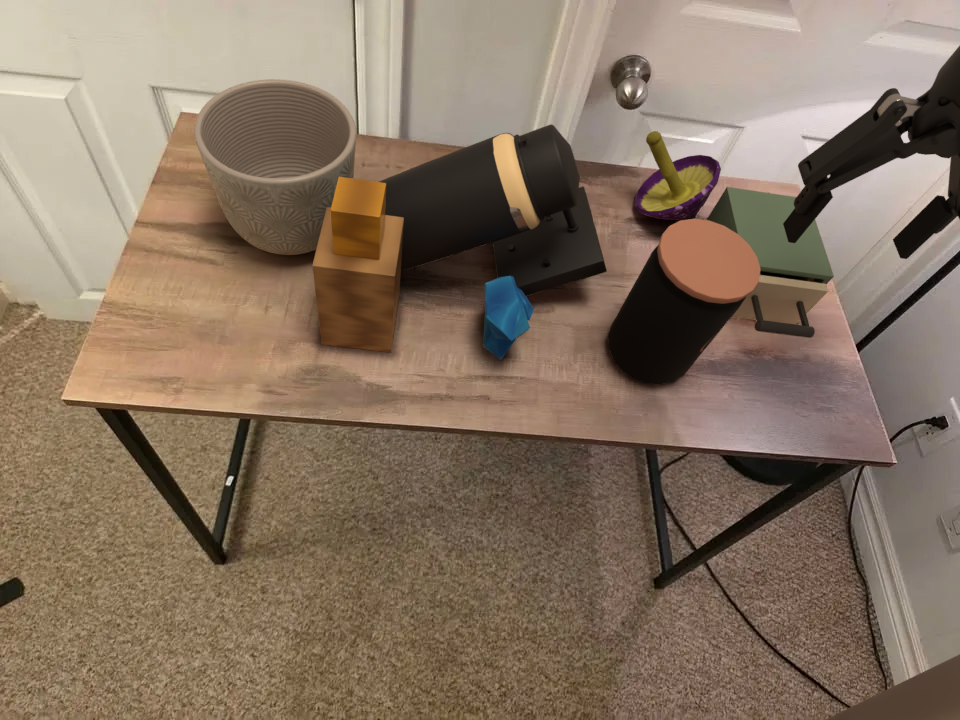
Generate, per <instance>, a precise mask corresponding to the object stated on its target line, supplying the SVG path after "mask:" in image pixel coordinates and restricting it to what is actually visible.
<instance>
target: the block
mask: <svg viewBox="0 0 960 720" xmlns="http://www.w3.org/2000/svg"><path fill="white" fill-rule="evenodd" d="M330 211H331V224H332V238H333V251H334V254H337V255H345V256H353V257H360V258H368V259H376V260H379V259H380V254H381V248H382V242H383V236H384V231H385V211H386V183H381V182H379V181H373V180H366V179H359V178H354V179H353V178H346V177H338V181H337V185H336V189H335V193H334V198H333V202H332V206H331V210H330Z"/></svg>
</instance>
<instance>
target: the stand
mask: <svg viewBox="0 0 960 720" xmlns="http://www.w3.org/2000/svg"><path fill="white" fill-rule="evenodd" d="M330 210H331V207H327V208H326V212H325V216H324V220H323V224H322V228H321V232H320V237H319V241H318V245H317V249H316V250H315V254H314V258H313V261H312V273H313V283H314V290H315V299H316V308H317V316H318V317H317V318H318V324H319V333H320V341H321V345H323V346H331V347H339V348H347V349H348V348H350V349H358V350H366V351H373V352H374V351H375V352H383V353H384V352H385V353H392V351H393V344H394V343H393V342H394V336H395V330H396V321H397V316H398V309H399V302H400V291H401V289H400V288H401V272H402V271H401V259H402V242H403V226H404V218H403V217H396V216H389V215H385V231H384V236H383V242H382V248H381V254H380V259H379V260H376V259H368V258H360V257H353V256H345V255H337V254H334V251H333V238H332V224H331V211H330Z"/></svg>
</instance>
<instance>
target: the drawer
mask: <svg viewBox="0 0 960 720" xmlns="http://www.w3.org/2000/svg"><path fill="white" fill-rule="evenodd" d="M814 279H815V278H808V277H801V276H794V275H786V274H779V273H772V272H764V271H760V278H759V282H758V284H757V285H756V287H755V288H754V290H753V291H752V292H751V293H750V294H749V295H748V296H746V298H745V300H744V301H743V303H742V304H741V306H740V307H739V308H738V310H737V311H736V312H735V313H734V315H733V316H732V317H731V318H737V319H744V320H751V321H752V320H753V321H755V322H754V330H755V331H756V332H760V333H768V334H777V335H783V336H784V335H785V336H791V337H792V336H793V337H800V338H806V339H807V338H808V339H812V338H813V337H815V336H814V335H815V333H816V330H815V327H814V326H811V325H810V321H809V319H808V313H809V312H810V311H811V310H812V309H813V308H814V307H815V306H816V305H817V304H818V303H819V302H820V301H821V300H822V299H823V298H824V297H825V296H826V295H827V294H828V293H829V288H828V286H827V284H823V283H816V282H812V281H813V280H814ZM799 322H800V323H801V324H798V323H799Z"/></svg>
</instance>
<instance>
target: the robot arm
mask: <svg viewBox="0 0 960 720" xmlns="http://www.w3.org/2000/svg"><path fill="white" fill-rule="evenodd" d="M905 133H907V139H908V140H909V141H908V142H904V140H903V138H902V135H903V134H905ZM915 154H919V155H925V156H927V155H936V156H938V157H939V158H944V159H950V163H949V164H950V165H949V175H948V183H947V184H948V186H947V197H948V198H947V199H946V197H945V196H944V195H940V194H939V195H937V194H936V196H934V198H933V199H931V201H929V203H927V204H926V205H925V206H924V208H923V209H922V210H921V211H920V212H918V214H917V215H916V216H914V218H913V219H912V220H911V221H909V222H908V224H907V225H905V226H904V228H903V229H901V230H900V231H899V232H898V233H897V234H896V235H895V236H894V237H893V239H892V241H893V242H892V243H893V244H894V247H895V249H896V251H897V254H898V256H899V258H900V259H903V260H907V259H909V258H910V257H911V256H912V255H913V254H914V253H915V252H916V251H917V250H918V249H920V248H921V247H922V246H923V245H924V244H925V243H926V242H927V241H928V240H929V239H930V238H931V237H932V236H934V234H935V235H937V234H939V233H941V232H942V231H943V230H944V229H946V228H947V227H948V226H949V225H950V223H952V222H953V221H954V220H955V219H956V218H957V217H958V219H959V220H960V45H959V46H958V47H957V48H956V49H955V50H954V51H953V53H952V54H951V55H950V56H949V57H948V58H947V60H946V61H945V62H944V63H943V65H942V66H941V67H940V69H939V70H938V72H937V74H936V77H935V79H934V81H933V83H932V85H931V87H930V88H929V89H928V90H926V92H924V93H923V94H922V95H920V96H918V97H917V98H911V97H907V96H902V95H901V93H900V92H899V89H897V88H896V87H892V88H888V89H887V90H886V91H884V92H883V93H882V95H880V97H879V98H878V99H877V100H876V102H875V103H874V104H873V105H872V107H870V109H869V110H867V111H866V112H865V113H863V114H862V115H860V117H858V118H857V119H855V120H854V121H852V122H851V123H850V124H848V125H847V126H846V127H845V128H843V129H842V130H841V131H839V132H838V133H836V134H835V135H834V136H832V137H831V138H830V139H828V140H827V141H826V142H824V143H823V144H822V145H821V146H819V147H818V148H817V149H815V150H814V151H812V152H811V153H810V154H809V155H806V157H804V158H803V159H802V160H801V161H799V162H798V164H797V168H798V171H799V174H800V177H801V180H802V183H803V185H804V187H803V188H802V189H801V191H800V192H799V193H798V194H797V196H795V197H796V199H795V200H794V207H795V209H794V210H793V211H792V213H791V214H790V215H789V217H788V218H787V219H786V220H785V222H784V223H783V225H784V229H785V232H786V235H787V239H788V242H790V243H796V242H797V240H798V239H799V238H800V237H801V236H802V234H803V233H804V232H805V231H806V230H807V228H808V227H809V226H810V225H811V223H812V222H813V221H814V220H816V219H817V218H818V216H819V215H820V214H822V213H821V212H822V211H824V209H825V208H826V207H827V205H828V204H829V203H830V202H831V200H832V199H833V198H834V196H833V193H832V191H833V190H835V189H837V188H839V187H841V186H843V185H845V184H847V183H849V182H851V181H854V180H855V179H857V178H860V177H861V176H863V175H866V174H868V173H869V172H871V171H873V170H876V169H878V168H880V167H882V166H884V165H886V164H888V163H890V162H892V161H894V160H896V159H901V160H905V159H907V158H909V157H912V156H913V155H915ZM828 176H829V177H828ZM824 720H960V653H958V654H957V655H955V656H953V657H951V658H949V659H947V660H945V661H943V662H940V663H939V664H936V665H934V666H933V667H930V668H929V669H926V670H924V671H922V672H920V673H918V674H916V675H914V676H912V677H910V678H908V679H905V680H903V681H902V682H900V683H897V684H895V685H893V686H891V687H889V688H887V689H885V690H883V691H881V692H879V693H877V694H875V695H873V696H871V697H869V698H867V699H864V700H863V701H861V702H858V703H856V704H854V705H852V706H850V707H848V708H846V709H844V710H841V711H840V712H837V713H836V714H834V715H831V716H830V717H827V718H826V719H825V718H824Z"/></svg>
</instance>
